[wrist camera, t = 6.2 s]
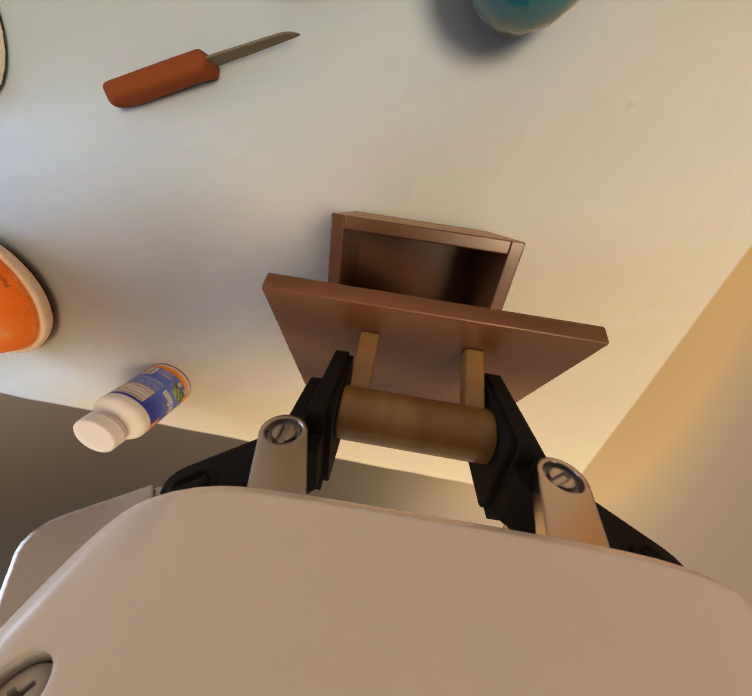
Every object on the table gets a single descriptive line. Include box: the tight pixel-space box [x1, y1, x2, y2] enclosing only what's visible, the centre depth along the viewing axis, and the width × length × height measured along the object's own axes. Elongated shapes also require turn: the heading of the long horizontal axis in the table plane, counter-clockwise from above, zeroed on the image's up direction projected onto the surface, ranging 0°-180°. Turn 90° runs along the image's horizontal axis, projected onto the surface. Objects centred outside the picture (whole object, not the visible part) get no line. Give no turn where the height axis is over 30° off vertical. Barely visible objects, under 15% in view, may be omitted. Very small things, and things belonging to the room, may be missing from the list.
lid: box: [262, 273, 609, 464], centre depth 15 cm, size 15×12×5 cm
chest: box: [328, 211, 525, 310], centre depth 24 cm, size 15×12×9 cm
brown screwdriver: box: [103, 32, 300, 108], centre depth 21 cm, size 16×1×2 cm, turn 101°
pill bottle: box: [73, 364, 190, 452], centre depth 31 cm, size 5×5×10 cm
